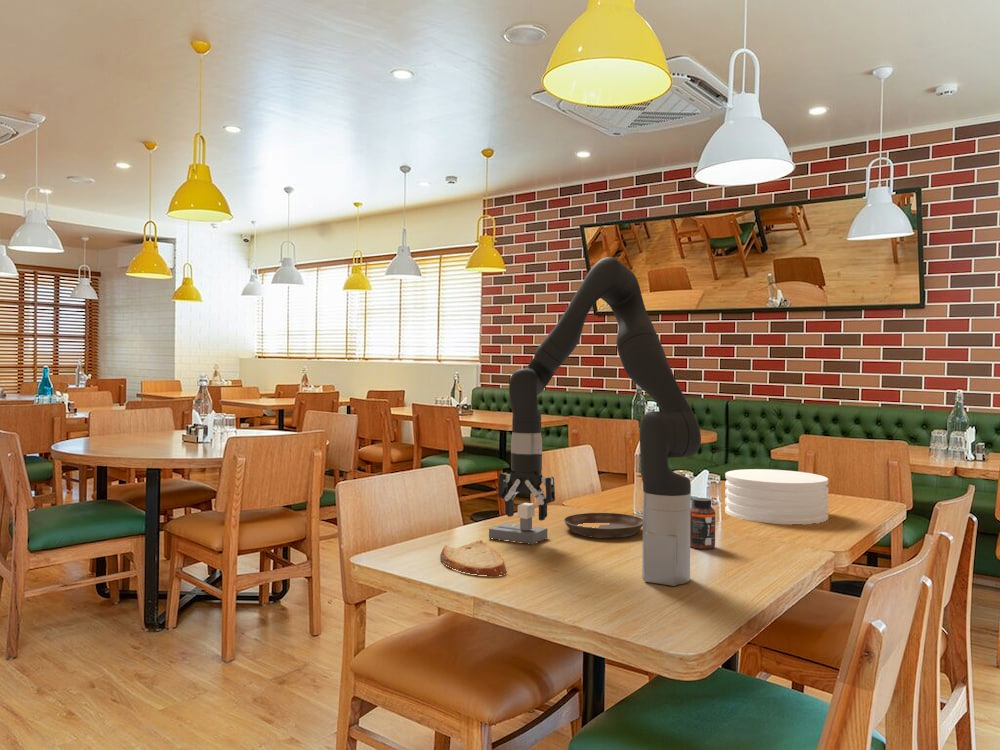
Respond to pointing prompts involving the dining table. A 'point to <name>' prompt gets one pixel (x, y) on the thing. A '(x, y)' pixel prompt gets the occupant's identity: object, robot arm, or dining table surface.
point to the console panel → (517, 533)
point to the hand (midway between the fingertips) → (526, 518)
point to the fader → (526, 515)
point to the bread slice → (474, 559)
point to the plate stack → (776, 496)
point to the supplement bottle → (702, 524)
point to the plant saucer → (617, 528)
